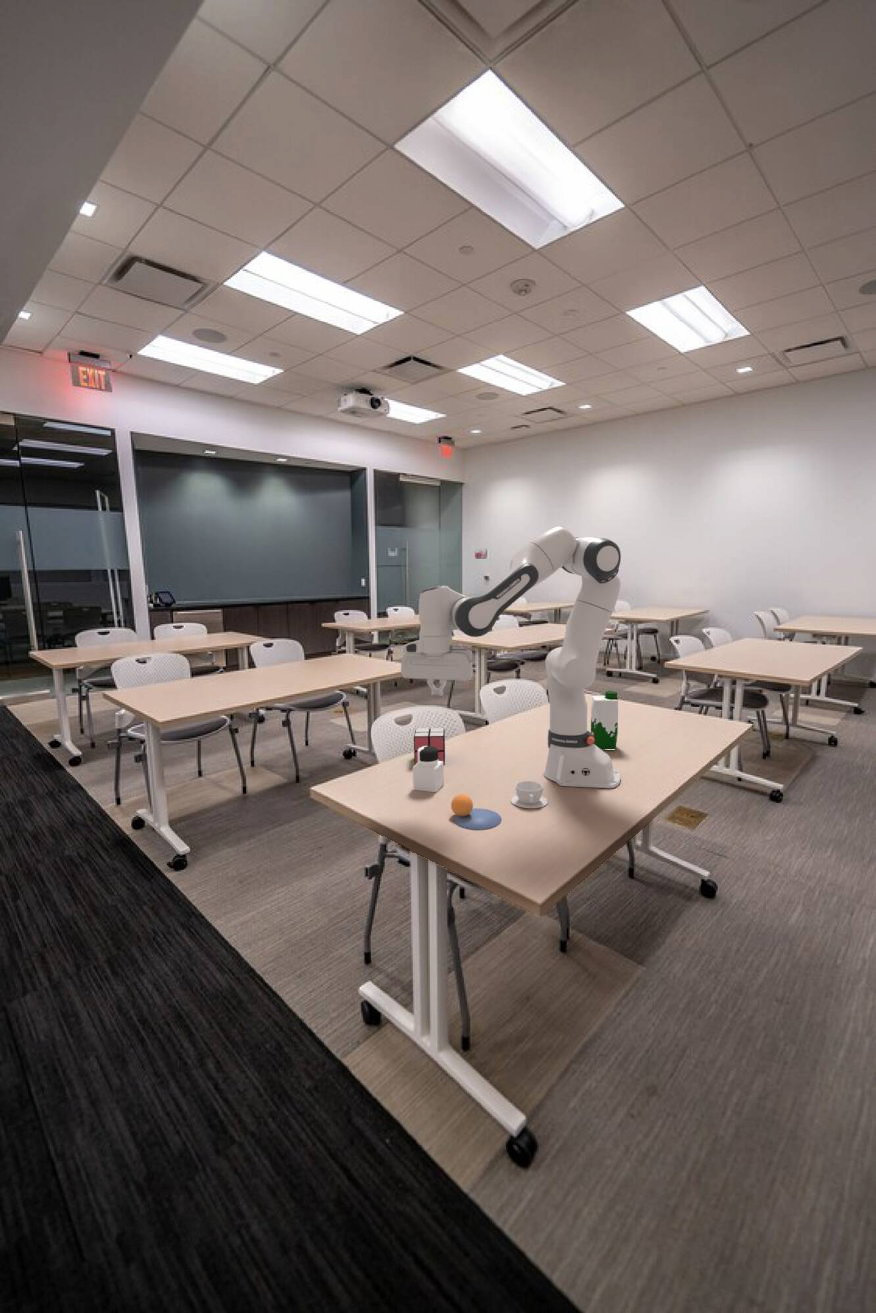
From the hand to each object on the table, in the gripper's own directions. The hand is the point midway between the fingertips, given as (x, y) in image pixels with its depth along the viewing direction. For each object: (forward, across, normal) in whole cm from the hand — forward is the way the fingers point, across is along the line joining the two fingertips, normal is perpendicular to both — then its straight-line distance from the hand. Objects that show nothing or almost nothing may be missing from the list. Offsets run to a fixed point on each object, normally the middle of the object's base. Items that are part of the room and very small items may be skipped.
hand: (437, 695), depth 151 cm
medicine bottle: (+29, +5, -4) cm, 30 cm away
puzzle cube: (+29, +14, -26) cm, 41 cm away
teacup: (+29, -25, -3) cm, 39 cm away
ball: (+26, -10, +11) cm, 30 cm away
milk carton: (+29, -40, -58) cm, 76 cm away
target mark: (+29, -15, +12) cm, 35 cm away
